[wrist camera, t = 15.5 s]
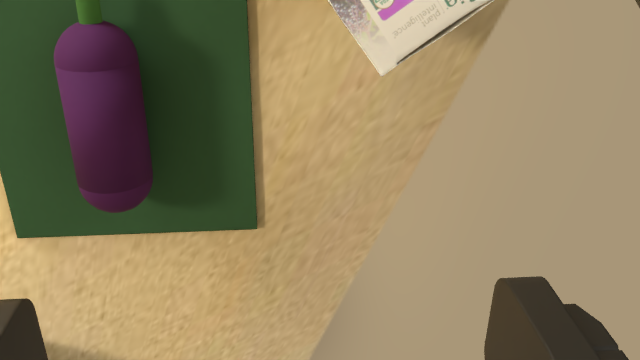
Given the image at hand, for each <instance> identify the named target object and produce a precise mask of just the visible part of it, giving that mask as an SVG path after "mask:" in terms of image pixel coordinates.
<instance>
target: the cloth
mask: <svg viewBox="0 0 640 360" xmlns="http://www.w3.org/2000/svg"><path fill="white" fill-rule="evenodd" d="M100 7H101V14H102V20H103V21H107V22H110V23H112V24H114V25H116V26H118V27H119V28H121V29H122V30H123V31H124V32H125V33H126V34H127V35H128V36H129V37H130V39H131V40H132V42H133V43H134V45H135V48H136V50H137V54H138V60H139V68H140V75H141V83H142V91H143V99H144V107H145V114H146V122H147V130H148V138H149V146H150V153H151V161H152V169H153V183H152V187H151V190H150V192H149V194H148V196H147V197H146V198H145V199H144V201H143V202H142V203H140V204H139V205H138V206H136V207H135V208H133V209H131V210H128V211H125V212H119V213H110V212H105V211H102V210H99V209H97V208H95V207H94V206H92V205H91V204H89V203H88V202H87V200H86V199H85V198H84V197H83V195H82V194H81V192H80V190H79V187H78V184H77V179H76V173H75V168H74V163H73V158H72V153H71V148H70V142H69V137H68V132H67V127H66V122H65V117H64V111H63V106H62V101H61V96H60V91H59V86H58V80H57V75H56V70H55V65H54V50H55V46H56V44H57V41H58V39H59V38H60V36H61V35H62V33H63V32H64V31H65V30H66V29H67V28H68V27H70V26H72V25H73V24H75V23H77V22H79V19H78V13H77V7H76V2H75V0H0V172H1V176H2V180H3V183H4V187H5V191H6V195H7V199H8V203H9V207H10V211H11V214H12V218H13V222H14V226H15V230H16V234H17V238H35V237H61V236H87V235H114V234H140V233H166V232H193V231H219V230H246V229H257V213H256V191H255V169H254V147H253V125H252V103H251V81H250V59H249V37H248V15H247V0H100Z"/></svg>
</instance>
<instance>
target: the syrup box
mask: <svg viewBox="0 0 640 360" xmlns="http://www.w3.org/2000/svg"><path fill="white" fill-rule="evenodd" d="M493 1H494V0H328V2H329V3H330V5H331V6H332V8H333V9H334V10H335V12H336V13H337V15H338V16H339V18H340V19H341V20H342V22H343V23H344V25H345V26H346V28H347V29H348V30H349V32H350V33H351V35H352V36H353V37H354V39H355V40H356V42H357V43H358V44H359V46H360V47H361V49H362V50H363V51H364V53H365V54H366V56H367V57H368V59H369V60H370V61H371V63H372V64H373V66H374V67H375V69H376V70H377V71H378V73H379V74H380V76H384V75H385V74H387V73H388V72H389V71H391V70H392V69H394V68H395V67H397V66H398V65H399V64H400V63H402V62H403V61H405V60H406V59H408V58H409V57H411V56H412V55H414V54H416V53H417V52H419V51H421V50H422V49H424V48H425V47H427V46H429V45H430V44H432V43H434V42H435V41H437V40H438V39H440V38H442V37H443V36H444V35H446V34H447V33H449V32H451V31H452V30H454V29H455V28H457V27H458V26H459V25H460V24H462V23H463V22H465V21H466V20H467V19H469V18H470V17H472V16H473V15H474V14H475V13H477V12H478V11H480V10H481V9H483V8H484V7H486V6H487V5H489V4H490V3H491V2H493Z"/></svg>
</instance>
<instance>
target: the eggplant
mask: <svg viewBox="0 0 640 360" xmlns="http://www.w3.org/2000/svg"><path fill="white" fill-rule="evenodd" d="M75 2H76V7H77V13H78V19H79V22H77V23H75V24H73V25H72V26H70V27H68V28H67V29H66V30H65V31H64V32H63V33H62V35H61V36H60V38H59V39H58V41H57V44H56V46H55V50H54V65H55V70H56V75H57V80H58V86H59V91H60V96H61V101H62V106H63V111H64V117H65V122H66V127H67V132H68V137H69V142H70V148H71V153H72V158H73V163H74V168H75V173H76V179H77V184H78V187H79V190H80V192H81V194H82V195H83V197H84V198H85V199H86V200H87V202H88V203H89V204H91V205H92V206H94V207H95V208H97V209H99V210H102V211H105V212H110V213H119V212H125V211H128V210H131V209H133V208H135V207H136V206H138V205H139V204H140V203H142V202H143V201H144V199H145V198H146V197H147V196H148V194H149V192H150V190H151V187H152V183H153V169H152V161H151V153H150V146H149V138H148V130H147V122H146V114H145V107H144V99H143V91H142V83H141V75H140V68H139V60H138V54H137V50H136V48H135V45H134V43H133V42H132V40H131V39H130V37H129V36H128V35H127V34H126V33H125V32H124V31H123V30H122V29H121V28H119V27H118V26H116V25H114V24H112V23H110V22H107V21H103V20H102V14H101V7H100V0H75Z"/></svg>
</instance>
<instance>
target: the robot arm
mask: <svg viewBox="0 0 640 360" xmlns="http://www.w3.org/2000/svg"><path fill="white" fill-rule="evenodd" d="M484 352H485V354H484V355H485V360H629V359H628V358H627V357H626V356H625V354H624V353H623V351H622V350H619V349H618V345H617V343H616V342H615V341H614V339H613V338H612V337H611V335H610V334H609V333H608V331H607V330H606V329H605V327H604V326H603V325H602V323H601V322H599V321H598V320H597V319H595V318H594V317H592V316H591V315H590V314H588V313H587V312H586V311H584V310H583V309H581V308H580V307H579V306H577V305H576V304H563V303H562V302H561V300H560V299H559V297H558V296H557V294H556V293H555V291H554V290H553V289H552V287H551V286H550V284H549V283H548V281H547V280H546V279H545V278H543V277H518V278H500V279H499V280H498V281H497V282H496V284H495V288H494V293H493V299H492V305H491V311H490V317H489V323H488V328H487V334H486V340H485V349H484ZM0 360H48V358H47V354H46V350H45V346H44V342H43V338H42V334H41V331H40V327H39V323H38V319H37V315H36V311H35V308H34V305H33V303H32V302H31V301H30V300H29V299H7V300H0Z"/></svg>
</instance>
